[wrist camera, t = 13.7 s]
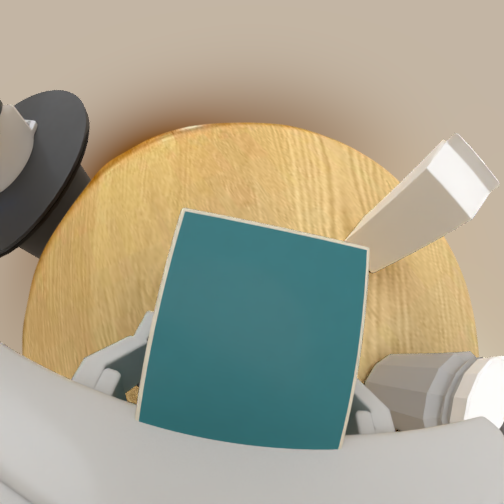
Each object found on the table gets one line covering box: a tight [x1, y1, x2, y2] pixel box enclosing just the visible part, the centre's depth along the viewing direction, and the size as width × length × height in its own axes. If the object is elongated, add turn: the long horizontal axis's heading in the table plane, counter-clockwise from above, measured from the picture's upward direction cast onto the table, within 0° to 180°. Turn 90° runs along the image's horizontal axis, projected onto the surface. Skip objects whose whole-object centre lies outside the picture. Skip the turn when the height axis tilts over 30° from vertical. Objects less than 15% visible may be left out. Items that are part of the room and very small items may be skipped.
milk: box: [345, 133, 499, 273], centre depth 27 cm, size 6×6×22 cm
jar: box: [365, 351, 504, 431], centre depth 23 cm, size 10×10×18 cm
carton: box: [135, 208, 370, 450], centre depth 11 cm, size 5×7×11 cm
